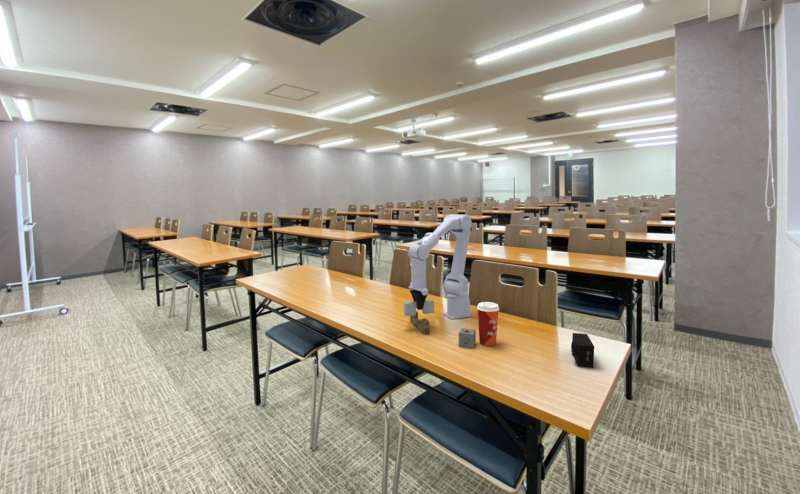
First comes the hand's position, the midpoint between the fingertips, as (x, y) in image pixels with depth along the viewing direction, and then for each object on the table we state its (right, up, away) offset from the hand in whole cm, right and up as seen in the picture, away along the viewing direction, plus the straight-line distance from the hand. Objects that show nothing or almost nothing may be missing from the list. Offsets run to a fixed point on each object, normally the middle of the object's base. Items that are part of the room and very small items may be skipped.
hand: (419, 308), depth 144 cm
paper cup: (+23, -10, -15) cm, 30 cm away
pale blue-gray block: (0, -2, 0) cm, 2 cm away
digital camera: (+49, -11, -30) cm, 58 cm away
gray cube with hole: (+16, -10, -17) cm, 25 cm away
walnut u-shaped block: (0, -8, +1) cm, 8 cm away
